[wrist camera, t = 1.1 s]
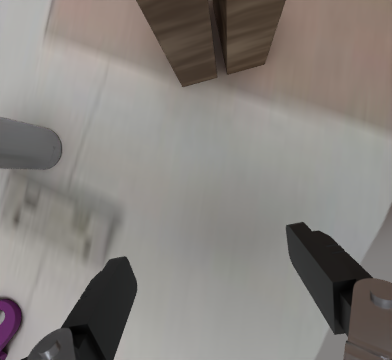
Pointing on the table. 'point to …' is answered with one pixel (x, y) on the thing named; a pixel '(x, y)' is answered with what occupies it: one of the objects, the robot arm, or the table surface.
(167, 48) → the step stand
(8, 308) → the mounting bracket
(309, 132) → the table surface
